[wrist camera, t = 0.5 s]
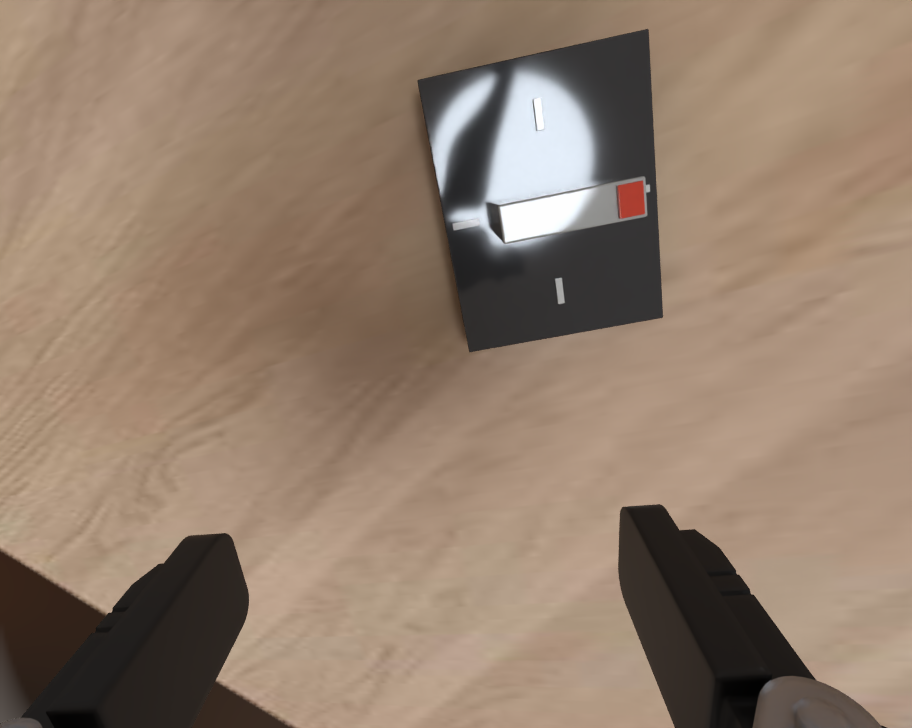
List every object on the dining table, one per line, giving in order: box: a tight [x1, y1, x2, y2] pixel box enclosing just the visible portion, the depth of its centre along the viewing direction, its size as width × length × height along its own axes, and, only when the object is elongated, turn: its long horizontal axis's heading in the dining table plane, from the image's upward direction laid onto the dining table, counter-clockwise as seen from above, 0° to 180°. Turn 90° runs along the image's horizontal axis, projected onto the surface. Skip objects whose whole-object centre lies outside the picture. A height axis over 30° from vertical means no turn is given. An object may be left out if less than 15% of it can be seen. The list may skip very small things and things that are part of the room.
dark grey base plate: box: [418, 29, 663, 352], centre depth 26 cm, size 14×11×3 cm
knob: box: [490, 176, 647, 244], centre depth 22 cm, size 6×2×6 cm, turn 101°
